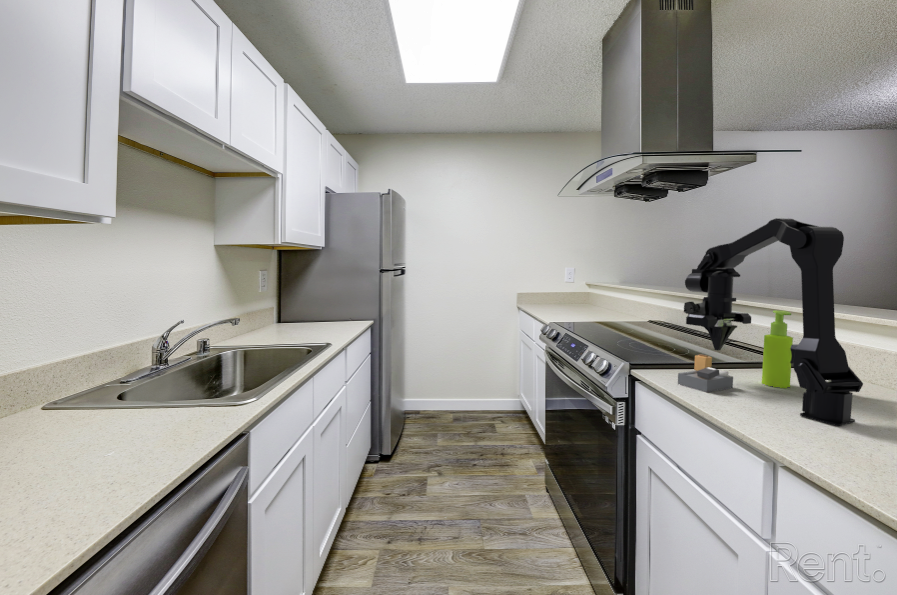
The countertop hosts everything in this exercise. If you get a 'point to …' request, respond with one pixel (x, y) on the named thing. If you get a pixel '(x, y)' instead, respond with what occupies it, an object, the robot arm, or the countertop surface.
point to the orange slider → (702, 362)
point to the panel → (706, 381)
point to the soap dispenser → (777, 354)
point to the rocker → (708, 373)
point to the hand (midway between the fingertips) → (717, 350)
